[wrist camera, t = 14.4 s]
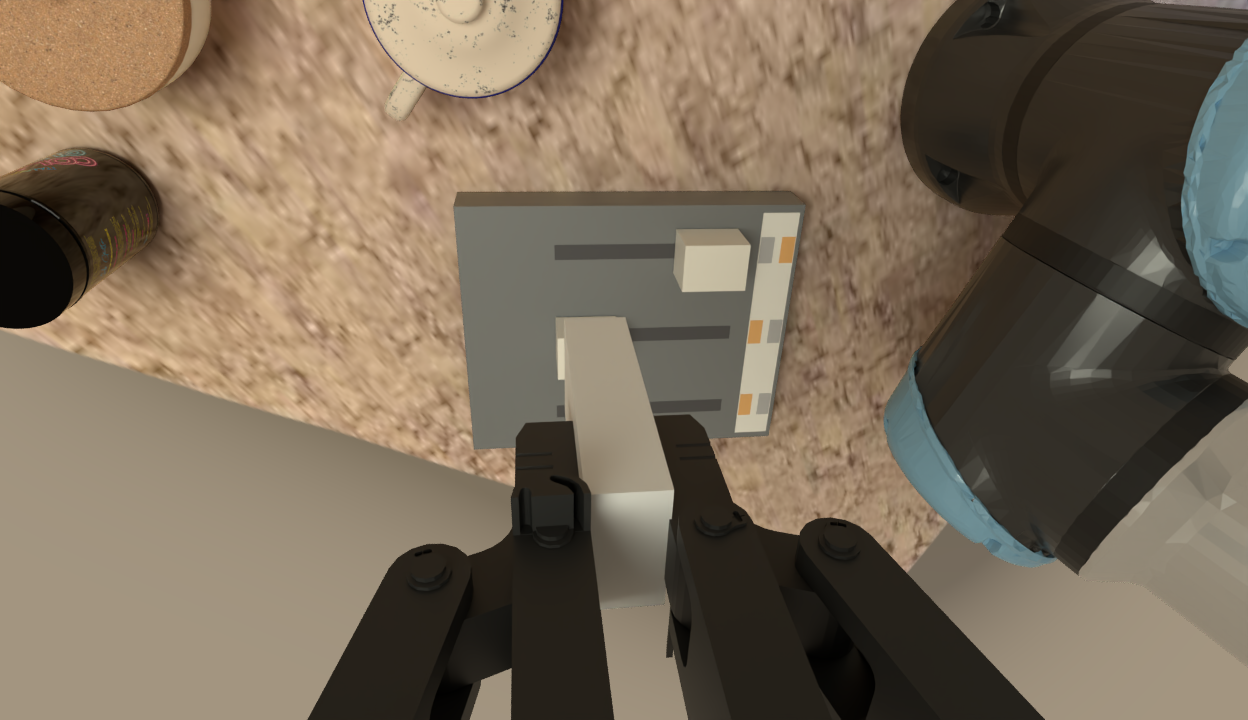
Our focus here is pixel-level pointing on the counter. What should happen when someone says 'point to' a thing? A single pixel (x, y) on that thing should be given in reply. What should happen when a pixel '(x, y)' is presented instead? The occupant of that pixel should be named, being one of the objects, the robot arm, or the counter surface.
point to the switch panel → (622, 301)
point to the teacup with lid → (462, 45)
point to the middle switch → (560, 344)
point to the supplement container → (67, 231)
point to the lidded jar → (98, 48)
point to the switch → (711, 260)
